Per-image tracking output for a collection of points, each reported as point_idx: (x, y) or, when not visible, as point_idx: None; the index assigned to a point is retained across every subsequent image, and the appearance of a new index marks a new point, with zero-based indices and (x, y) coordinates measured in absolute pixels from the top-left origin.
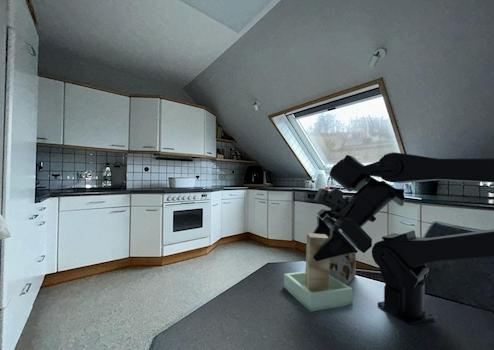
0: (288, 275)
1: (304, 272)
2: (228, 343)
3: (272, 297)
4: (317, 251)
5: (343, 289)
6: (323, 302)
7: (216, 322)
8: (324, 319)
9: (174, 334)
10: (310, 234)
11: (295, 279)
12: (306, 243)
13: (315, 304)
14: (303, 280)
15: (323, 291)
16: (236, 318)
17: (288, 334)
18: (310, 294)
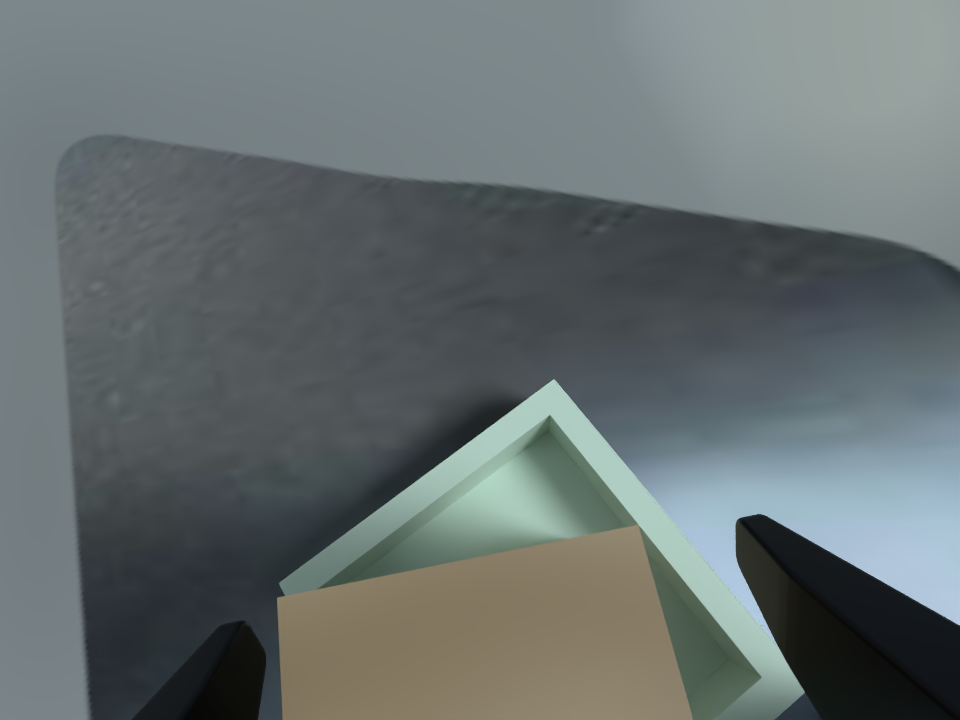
0: (534, 411)
1: (655, 527)
2: (69, 298)
3: (407, 366)
4: (169, 695)
5: None
6: None
7: (167, 222)
8: (268, 656)
9: (95, 147)
10: (523, 603)
11: (582, 465)
12: (757, 527)
13: None
14: (627, 524)
15: None
16: (201, 273)
17: (133, 485)
18: (286, 581)
